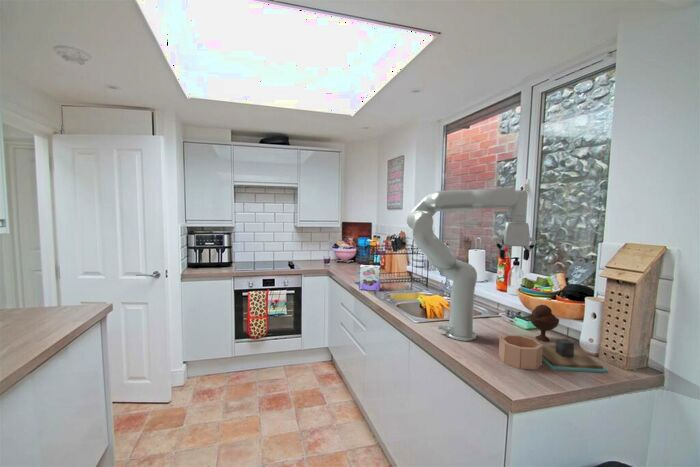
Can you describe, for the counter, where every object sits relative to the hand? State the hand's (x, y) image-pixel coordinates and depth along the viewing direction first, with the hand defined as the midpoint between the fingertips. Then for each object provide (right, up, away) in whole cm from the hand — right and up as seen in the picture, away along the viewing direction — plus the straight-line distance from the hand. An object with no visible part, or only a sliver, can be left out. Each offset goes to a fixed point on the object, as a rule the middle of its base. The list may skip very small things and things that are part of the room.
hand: (513, 259), depth 139 cm
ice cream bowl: (+11, -34, -2) cm, 36 cm away
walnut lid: (+8, -34, -21) cm, 41 cm away
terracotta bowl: (-10, -34, -23) cm, 42 cm away
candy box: (-57, -27, +81) cm, 103 cm away
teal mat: (+8, -35, -21) cm, 41 cm away
